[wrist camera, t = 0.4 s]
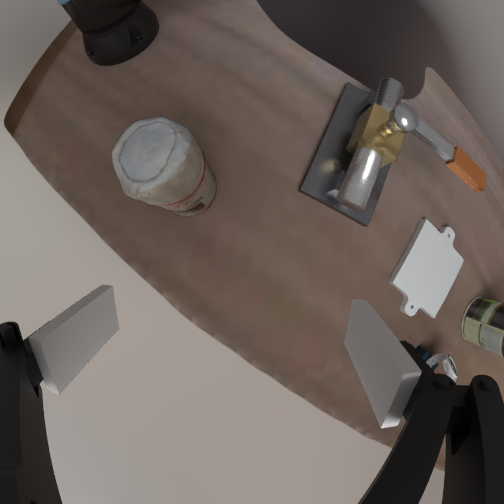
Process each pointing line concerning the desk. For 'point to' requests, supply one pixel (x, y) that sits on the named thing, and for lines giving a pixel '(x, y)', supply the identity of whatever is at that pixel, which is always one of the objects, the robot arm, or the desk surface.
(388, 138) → the valve stand
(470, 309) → the coffee can
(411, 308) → the mounting plate
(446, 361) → the watch
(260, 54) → the desk surface
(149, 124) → the spray can
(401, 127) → the lever
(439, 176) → the desk surface
